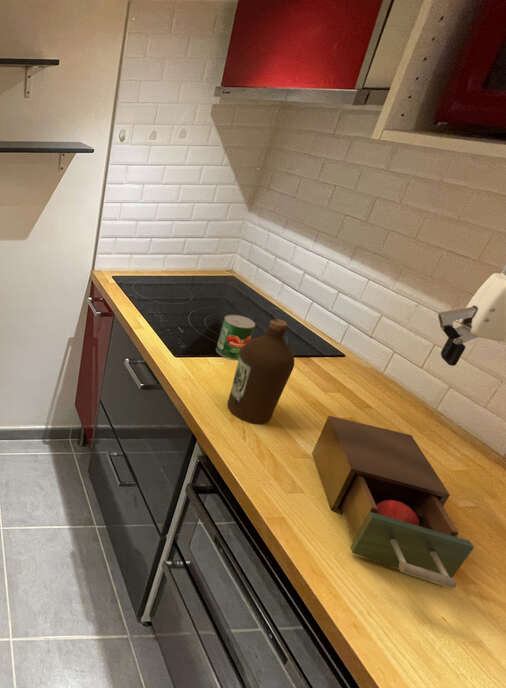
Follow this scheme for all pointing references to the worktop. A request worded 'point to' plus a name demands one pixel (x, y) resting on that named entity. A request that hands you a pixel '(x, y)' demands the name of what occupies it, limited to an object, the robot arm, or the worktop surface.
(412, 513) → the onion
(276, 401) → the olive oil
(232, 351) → the canned tomato
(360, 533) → the drawer
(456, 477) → the worktop surface
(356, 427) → the cabinet
